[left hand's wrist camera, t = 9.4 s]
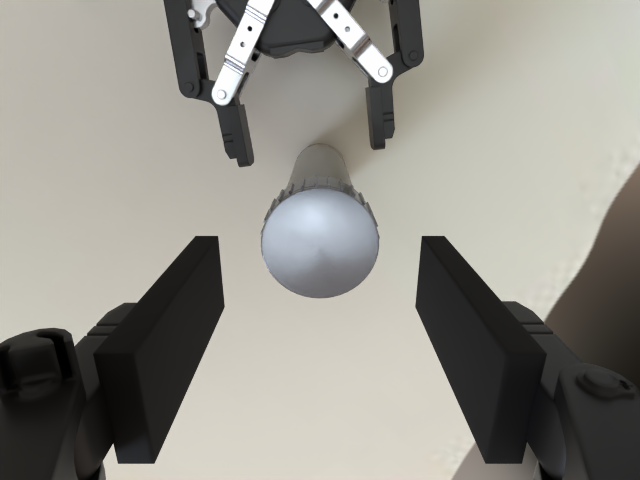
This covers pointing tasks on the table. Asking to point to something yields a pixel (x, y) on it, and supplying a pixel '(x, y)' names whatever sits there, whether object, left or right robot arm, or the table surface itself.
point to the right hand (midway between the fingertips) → (312, 156)
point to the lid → (320, 237)
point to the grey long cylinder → (320, 164)
